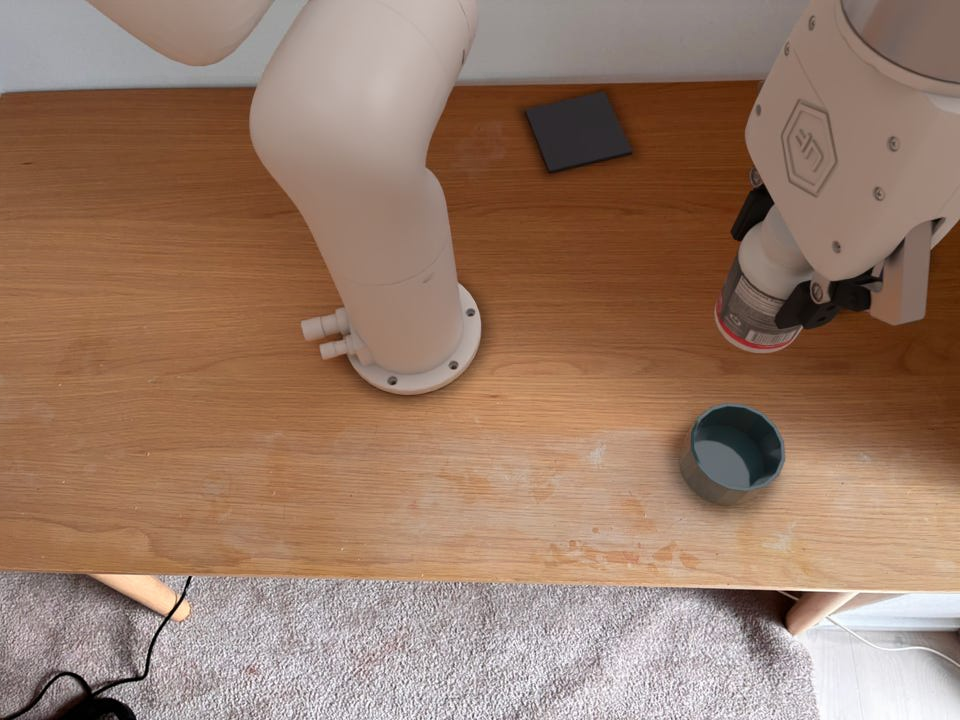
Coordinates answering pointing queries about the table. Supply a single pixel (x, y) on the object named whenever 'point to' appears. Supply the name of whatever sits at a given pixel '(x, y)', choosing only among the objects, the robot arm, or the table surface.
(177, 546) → the table surface
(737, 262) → the pill bottle
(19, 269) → the table surface
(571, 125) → the mat
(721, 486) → the cup
